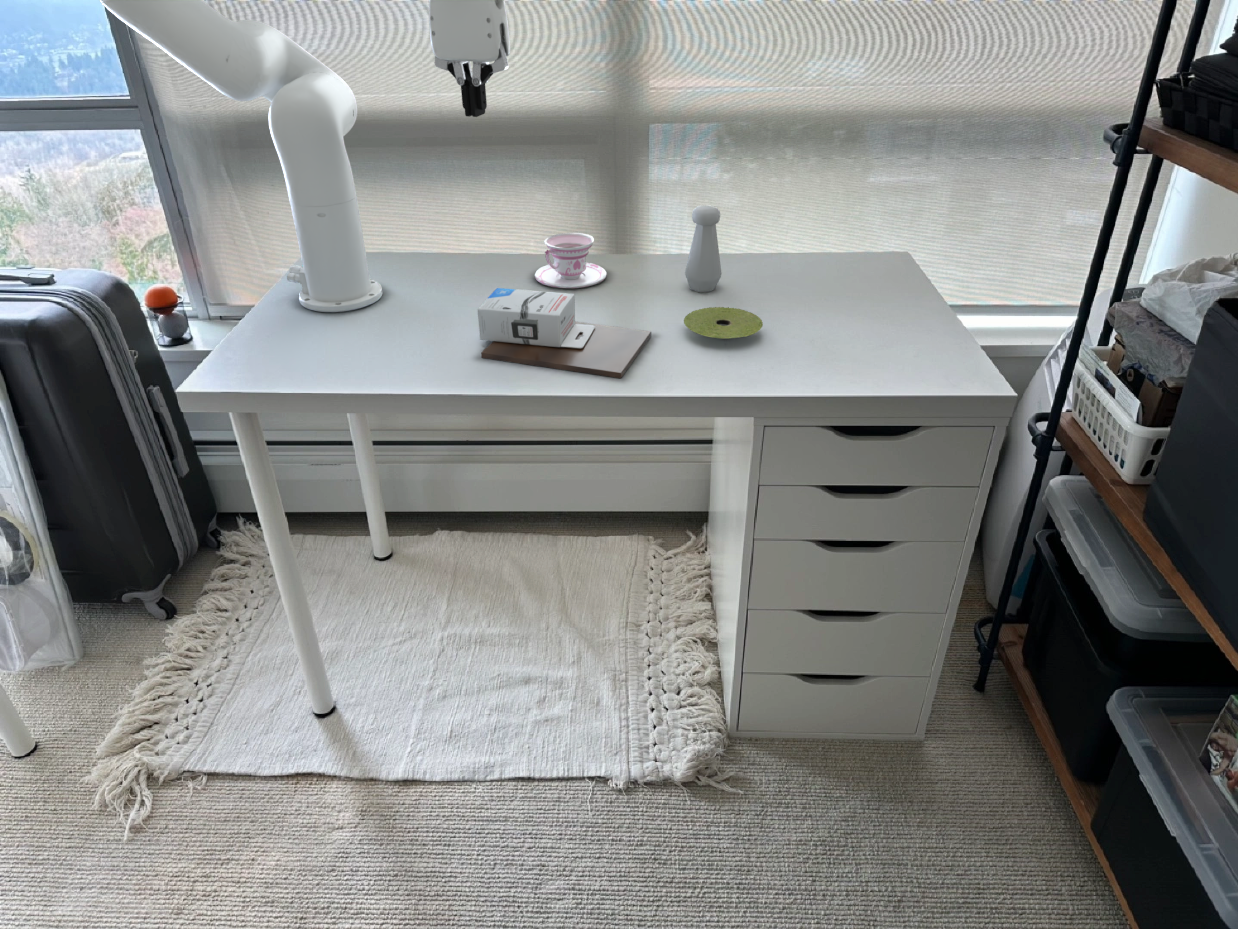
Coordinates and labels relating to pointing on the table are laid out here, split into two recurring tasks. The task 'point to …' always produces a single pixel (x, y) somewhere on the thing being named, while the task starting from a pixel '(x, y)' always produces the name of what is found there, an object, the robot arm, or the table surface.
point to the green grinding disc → (723, 322)
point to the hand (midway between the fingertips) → (475, 114)
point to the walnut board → (579, 352)
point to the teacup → (569, 262)
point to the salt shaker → (704, 250)
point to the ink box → (531, 319)
